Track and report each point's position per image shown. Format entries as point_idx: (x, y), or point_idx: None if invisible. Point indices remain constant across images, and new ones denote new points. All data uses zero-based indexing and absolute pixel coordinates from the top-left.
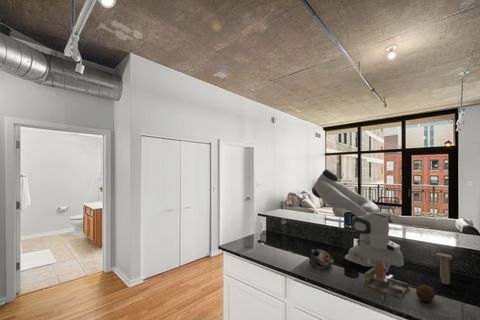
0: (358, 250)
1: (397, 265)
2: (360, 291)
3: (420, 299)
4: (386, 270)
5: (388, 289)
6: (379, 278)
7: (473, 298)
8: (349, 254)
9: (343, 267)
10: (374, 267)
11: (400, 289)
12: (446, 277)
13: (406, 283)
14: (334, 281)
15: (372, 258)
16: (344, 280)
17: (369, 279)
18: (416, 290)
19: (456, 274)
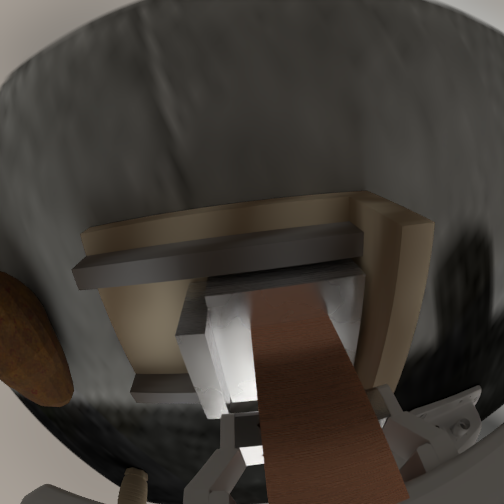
0: (458, 451)
1: (57, 500)
2: (335, 46)
3: (15, 278)
4: (227, 427)
5: (176, 243)
6: (287, 310)
7: (47, 428)
8: (474, 411)
9: (493, 314)
10: (379, 393)
11: (85, 280)
12: (123, 486)
13: (141, 399)
14: (488, 86)
15: (452, 479)
16: (473, 146)
17: (364, 237)
18: (27, 329)
19: (168, 501)
